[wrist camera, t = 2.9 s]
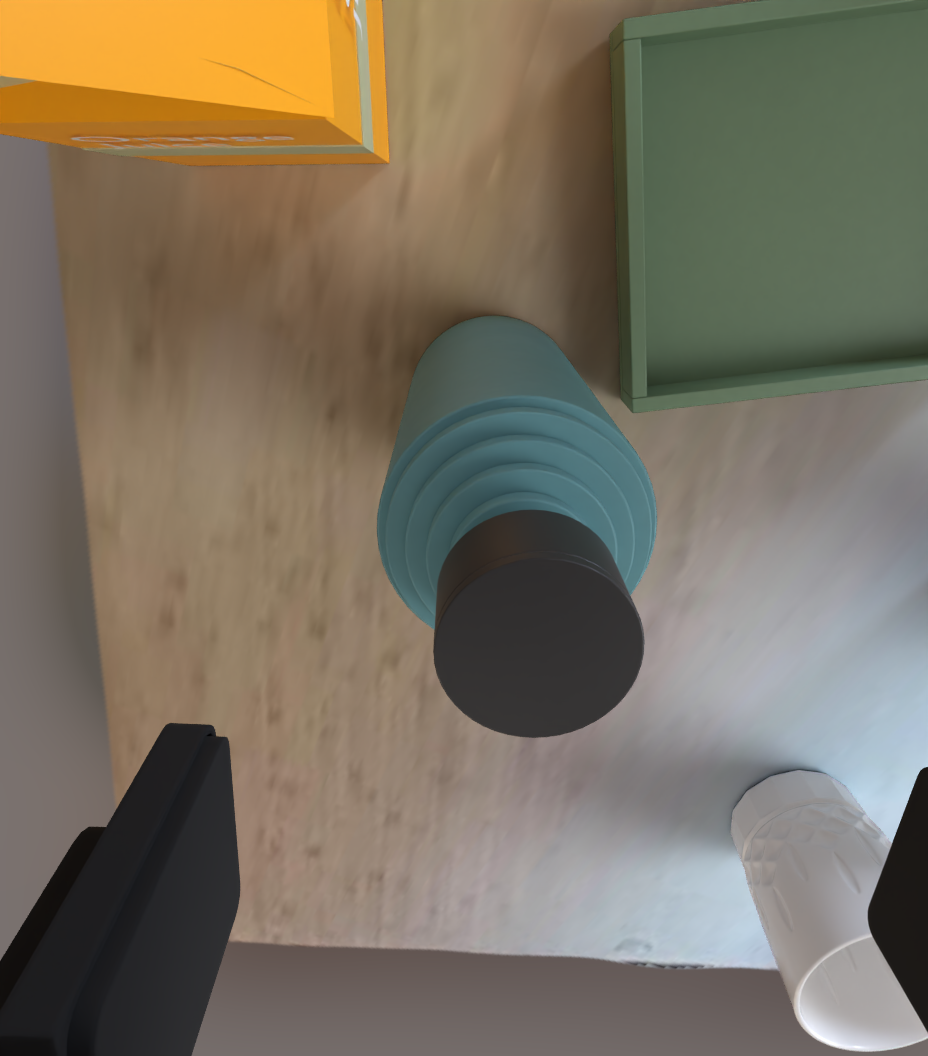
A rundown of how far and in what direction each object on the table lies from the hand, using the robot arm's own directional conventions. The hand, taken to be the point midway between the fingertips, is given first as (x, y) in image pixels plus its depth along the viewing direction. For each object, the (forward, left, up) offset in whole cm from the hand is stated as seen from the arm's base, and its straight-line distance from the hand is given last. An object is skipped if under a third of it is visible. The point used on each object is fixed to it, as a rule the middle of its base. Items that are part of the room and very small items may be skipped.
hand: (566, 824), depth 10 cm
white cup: (+25, +14, -23) cm, 37 cm away
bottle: (0, 0, -23) cm, 23 cm away
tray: (-6, +13, -23) cm, 27 cm away
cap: (0, 0, -4) cm, 4 cm away
